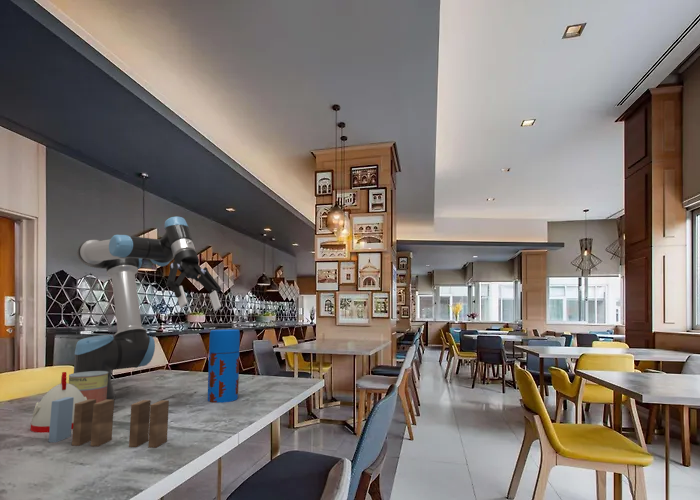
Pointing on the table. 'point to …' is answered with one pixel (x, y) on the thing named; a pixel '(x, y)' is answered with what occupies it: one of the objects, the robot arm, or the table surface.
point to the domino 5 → (158, 423)
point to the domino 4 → (139, 423)
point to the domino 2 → (82, 422)
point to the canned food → (91, 384)
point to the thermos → (223, 366)
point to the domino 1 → (61, 419)
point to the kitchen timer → (44, 406)
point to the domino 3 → (102, 422)
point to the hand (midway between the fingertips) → (201, 307)
